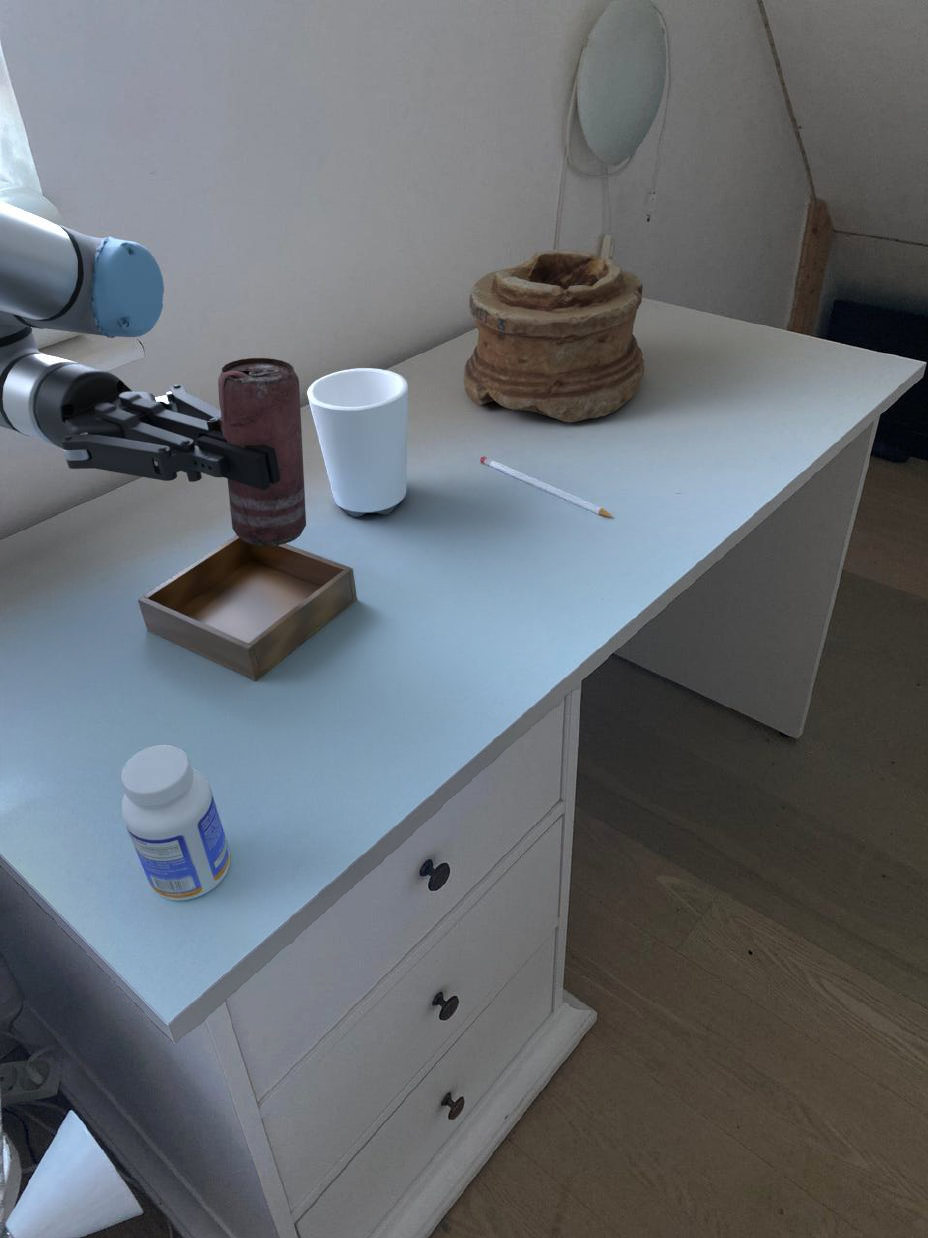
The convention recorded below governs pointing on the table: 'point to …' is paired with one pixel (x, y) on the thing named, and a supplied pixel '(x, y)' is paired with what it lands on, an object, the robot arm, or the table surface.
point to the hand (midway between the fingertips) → (269, 469)
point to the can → (265, 415)
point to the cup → (363, 437)
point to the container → (556, 336)
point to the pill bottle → (173, 823)
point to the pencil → (545, 487)
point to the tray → (249, 604)
